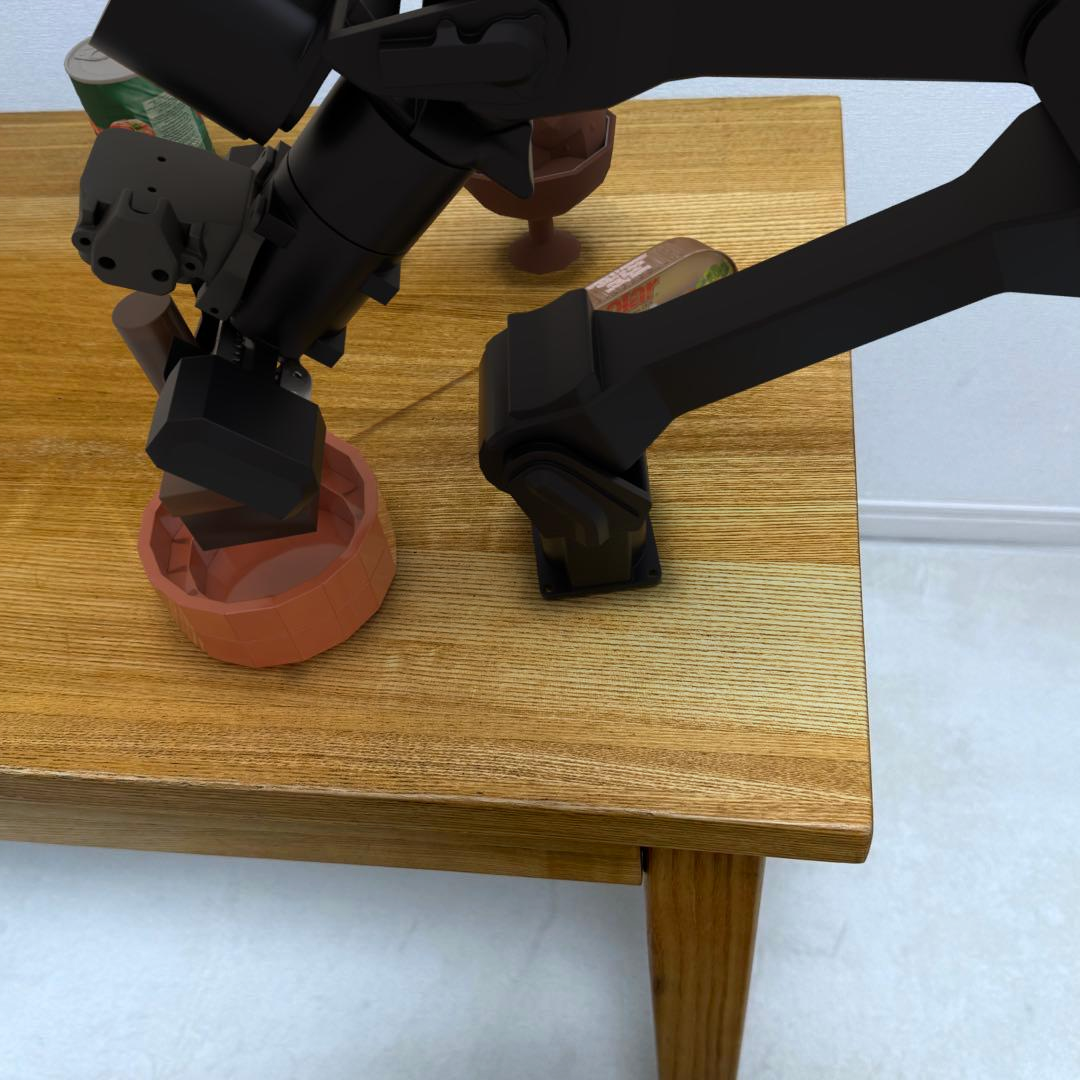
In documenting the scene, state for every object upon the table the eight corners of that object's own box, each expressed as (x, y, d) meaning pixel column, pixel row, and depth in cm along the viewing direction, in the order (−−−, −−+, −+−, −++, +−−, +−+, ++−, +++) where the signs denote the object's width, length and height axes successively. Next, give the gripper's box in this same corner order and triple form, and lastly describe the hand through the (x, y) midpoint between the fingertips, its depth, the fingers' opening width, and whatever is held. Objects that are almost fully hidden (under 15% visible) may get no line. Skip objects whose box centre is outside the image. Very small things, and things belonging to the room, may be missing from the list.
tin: (549, 460, 63) (535, 351, 56) (519, 431, 65) (501, 322, 58) (741, 343, 68) (748, 230, 61) (708, 319, 69) (711, 206, 63)
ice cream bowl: (624, 207, 78) (616, -3, 66) (616, 308, 71) (604, 94, 59) (480, 211, 79) (446, 6, 67) (458, 310, 72) (417, 102, 61)
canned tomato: (237, 156, 87) (189, 21, 78) (204, 215, 82) (150, 78, 74) (146, 157, 88) (89, 24, 80) (109, 215, 84) (45, 80, 75)
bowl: (400, 654, 56) (378, 593, 51) (164, 687, 56) (122, 629, 51) (396, 477, 63) (376, 411, 59) (189, 507, 64) (154, 443, 59)
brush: (325, 469, 56) (220, 260, 46) (320, 534, 54) (207, 327, 43) (209, 490, 57) (78, 288, 46) (198, 555, 54) (57, 356, 44)
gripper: (193, -47, 43) (49, 220, 52) (95, 235, 31) (-69, 515, 40) (424, 113, 49) (258, 328, 58) (414, 402, 37) (208, 614, 46)
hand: (176, 428), depth 50 cm, fingers closed on brush, 2 cm apart
